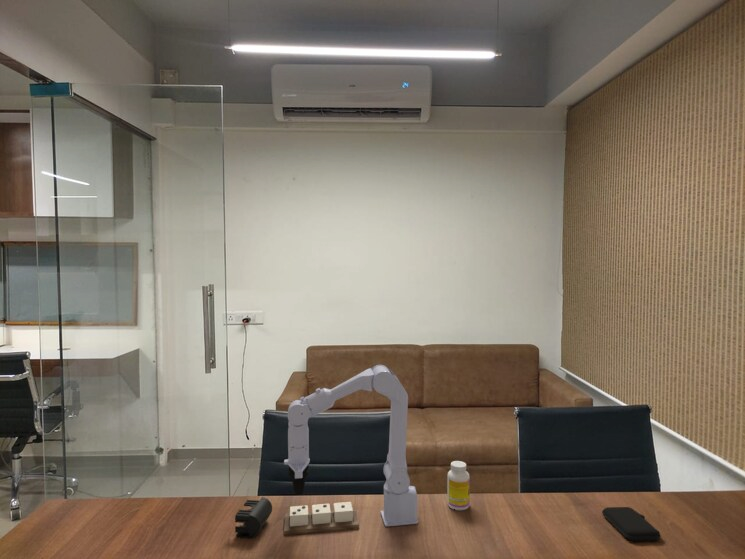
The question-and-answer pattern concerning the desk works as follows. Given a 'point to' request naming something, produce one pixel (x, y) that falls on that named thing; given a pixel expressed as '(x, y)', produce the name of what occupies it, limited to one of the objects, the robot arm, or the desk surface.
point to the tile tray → (320, 525)
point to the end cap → (252, 518)
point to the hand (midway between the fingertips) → (298, 492)
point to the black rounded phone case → (631, 524)
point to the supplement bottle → (458, 486)
